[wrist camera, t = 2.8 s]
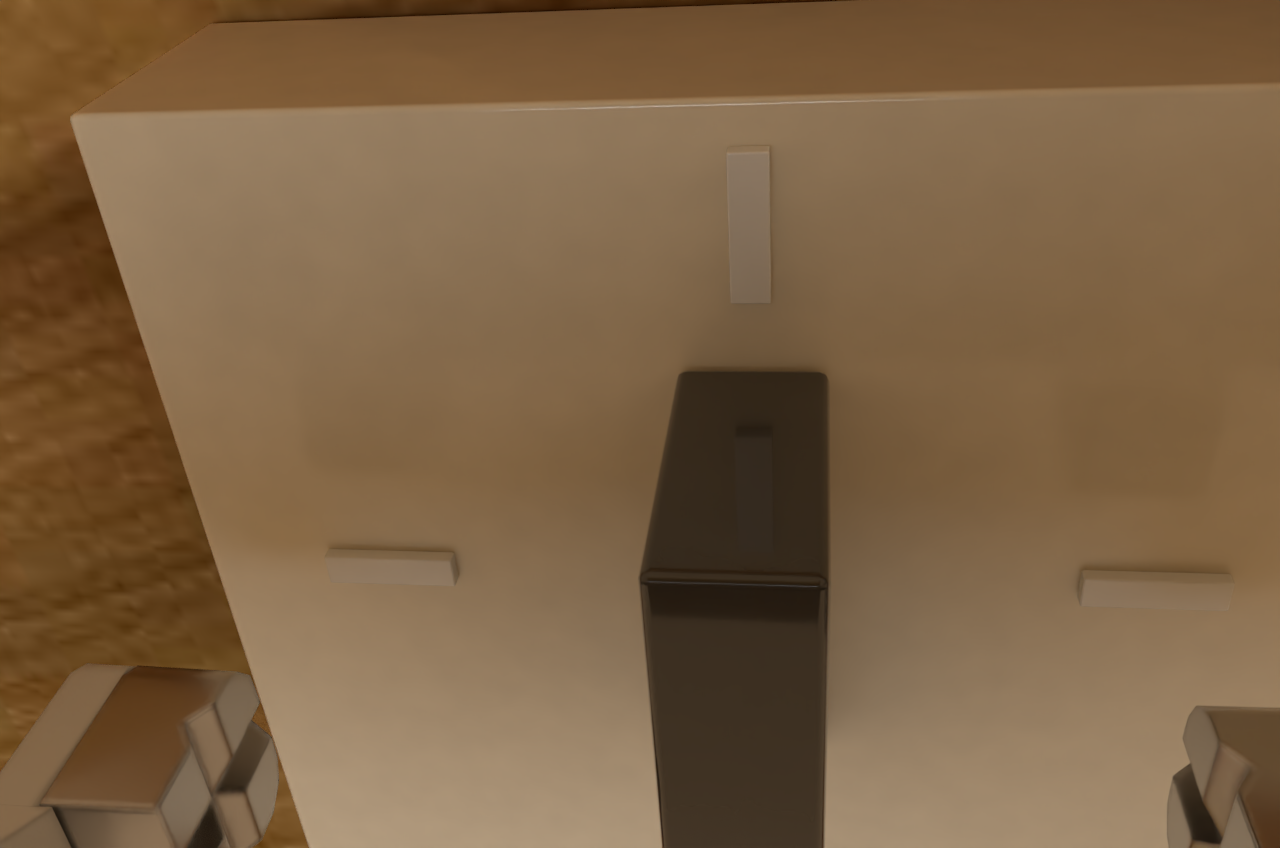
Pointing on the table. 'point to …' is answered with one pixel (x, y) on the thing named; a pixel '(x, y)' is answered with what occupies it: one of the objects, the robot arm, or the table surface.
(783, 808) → the red-tipped dark block
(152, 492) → the table surface
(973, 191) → the panel
